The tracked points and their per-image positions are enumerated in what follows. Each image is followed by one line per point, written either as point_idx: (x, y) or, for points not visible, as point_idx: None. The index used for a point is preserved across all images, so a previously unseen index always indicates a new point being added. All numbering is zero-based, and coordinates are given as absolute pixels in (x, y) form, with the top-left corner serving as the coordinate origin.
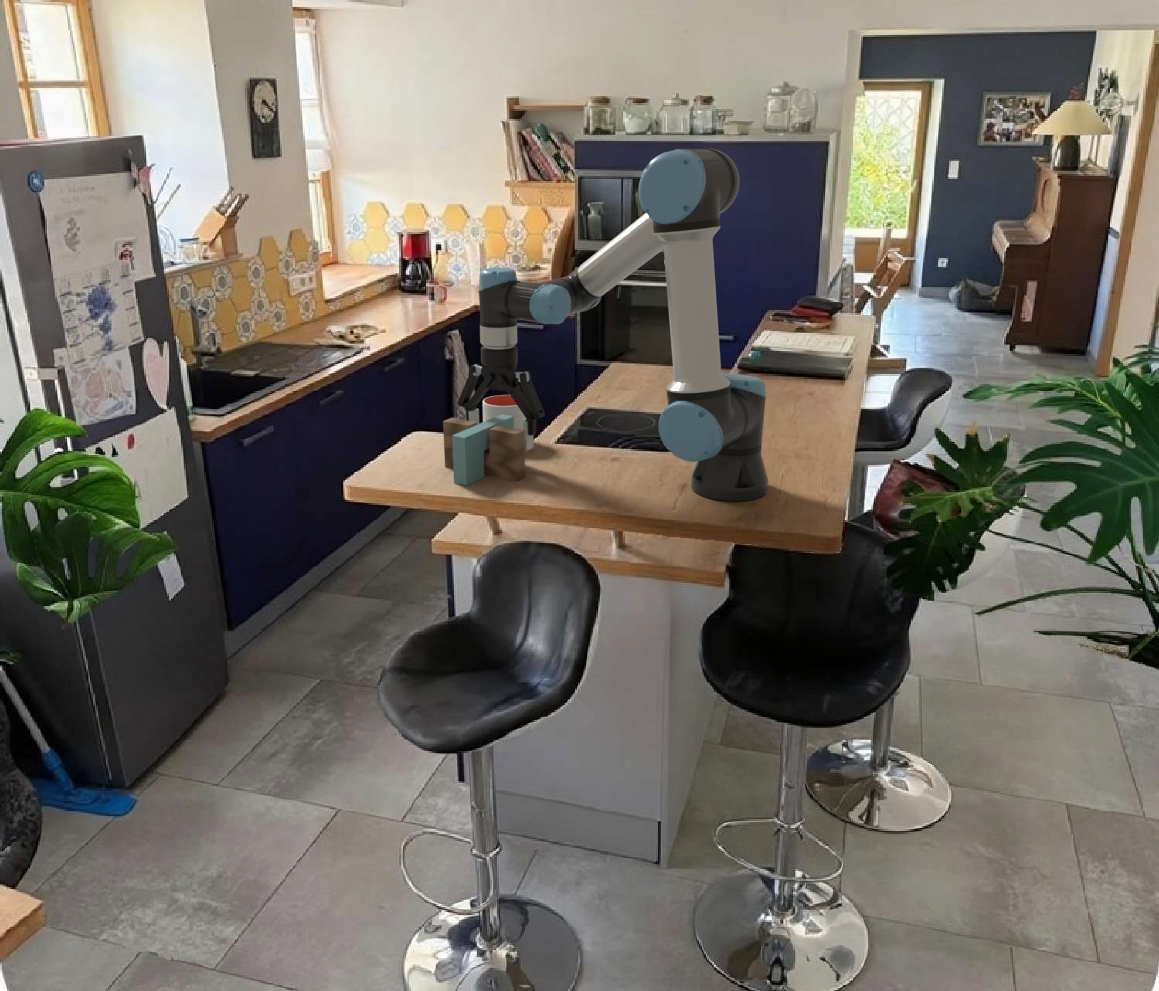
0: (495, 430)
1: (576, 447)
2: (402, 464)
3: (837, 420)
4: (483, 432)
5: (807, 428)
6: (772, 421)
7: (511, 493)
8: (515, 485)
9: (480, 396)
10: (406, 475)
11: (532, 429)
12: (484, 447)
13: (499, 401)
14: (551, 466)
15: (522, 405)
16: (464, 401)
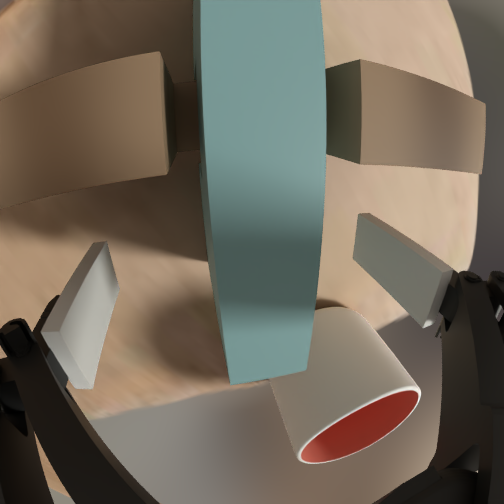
0: (97, 64)
1: (160, 402)
2: (441, 81)
3: (64, 493)
4: (199, 29)
5: (56, 483)
6: None
7: (37, 36)
8: None
9: (464, 365)
10: (392, 8)
11: (42, 314)
12: (196, 62)
13: (382, 421)
14: None
15: (37, 424)
16: (493, 303)
